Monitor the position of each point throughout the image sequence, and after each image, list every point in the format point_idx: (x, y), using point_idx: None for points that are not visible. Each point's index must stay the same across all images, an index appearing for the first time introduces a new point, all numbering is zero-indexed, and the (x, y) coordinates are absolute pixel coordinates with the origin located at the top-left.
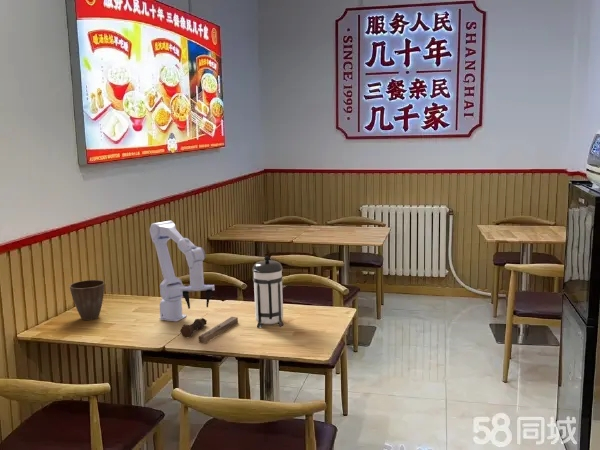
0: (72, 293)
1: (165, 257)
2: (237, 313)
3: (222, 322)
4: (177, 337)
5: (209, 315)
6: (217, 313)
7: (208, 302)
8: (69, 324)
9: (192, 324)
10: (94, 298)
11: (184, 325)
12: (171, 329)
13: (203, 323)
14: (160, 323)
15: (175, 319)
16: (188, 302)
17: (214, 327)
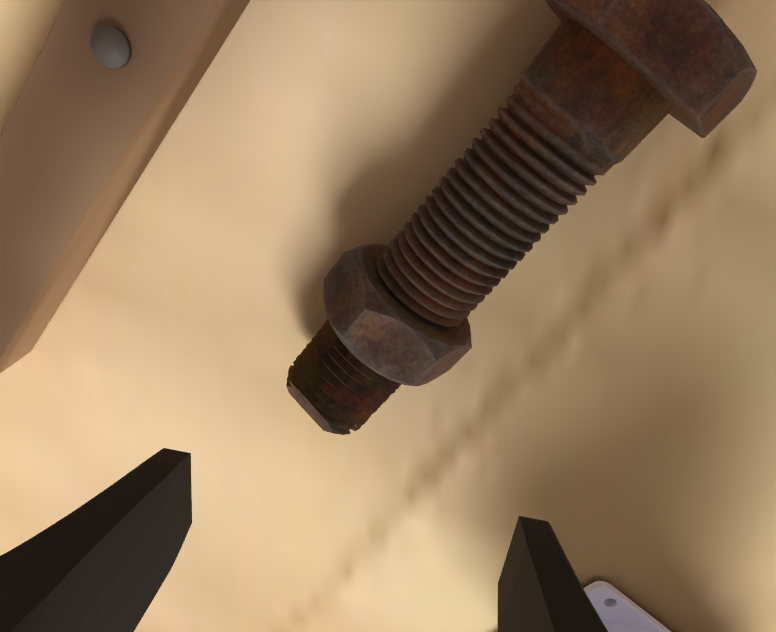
0: None
1: None
2: (5, 546)
3: (75, 217)
4: (764, 54)
5: (260, 599)
6: (186, 613)
7: (84, 504)
8: None
9: (514, 194)
10: None
11: (721, 32)
12: (726, 396)
13: (335, 280)
14: (770, 602)
15: (602, 618)
16: (569, 628)
17: (181, 26)
